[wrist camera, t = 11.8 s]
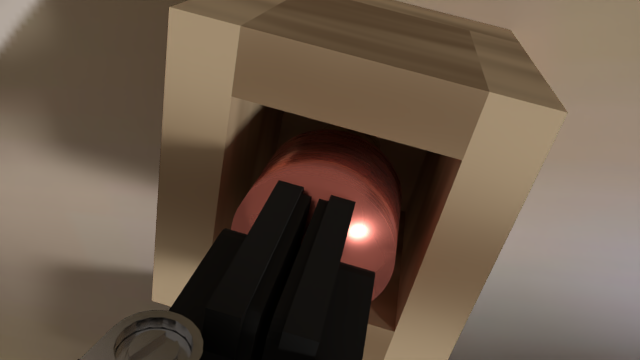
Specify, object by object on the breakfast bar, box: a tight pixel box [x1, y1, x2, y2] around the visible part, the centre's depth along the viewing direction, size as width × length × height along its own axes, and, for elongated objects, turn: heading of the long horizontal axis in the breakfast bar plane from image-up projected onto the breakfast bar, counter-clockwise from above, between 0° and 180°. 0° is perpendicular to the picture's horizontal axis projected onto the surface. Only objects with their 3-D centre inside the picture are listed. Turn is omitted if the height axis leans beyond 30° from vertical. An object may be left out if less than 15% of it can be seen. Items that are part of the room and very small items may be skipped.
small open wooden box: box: [152, 0, 568, 360], centre depth 15 cm, size 8×8×8 cm
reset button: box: [231, 124, 402, 301], centre depth 13 cm, size 4×4×5 cm
